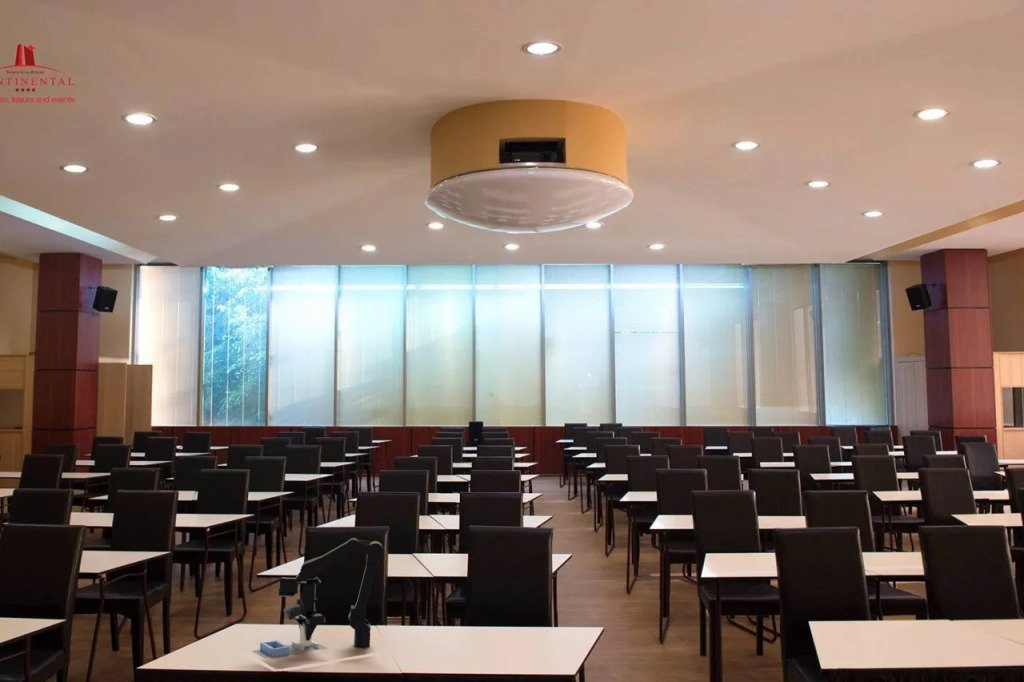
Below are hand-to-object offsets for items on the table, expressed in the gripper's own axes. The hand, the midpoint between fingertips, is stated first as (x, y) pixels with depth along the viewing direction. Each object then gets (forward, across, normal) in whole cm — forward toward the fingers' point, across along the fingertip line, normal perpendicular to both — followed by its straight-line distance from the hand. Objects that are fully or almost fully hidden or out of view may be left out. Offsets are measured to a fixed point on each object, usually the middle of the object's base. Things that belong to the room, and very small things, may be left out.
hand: (305, 639), depth 313 cm
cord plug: (+2, 0, 0) cm, 2 cm away
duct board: (+4, 0, -6) cm, 7 cm away
